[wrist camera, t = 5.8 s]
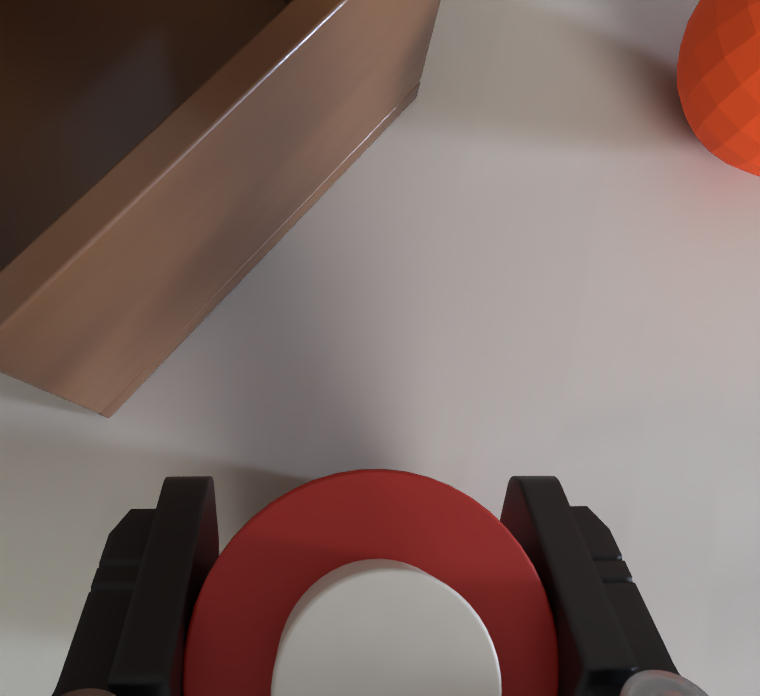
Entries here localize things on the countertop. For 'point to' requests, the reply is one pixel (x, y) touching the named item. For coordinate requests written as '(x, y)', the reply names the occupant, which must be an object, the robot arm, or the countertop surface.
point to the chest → (171, 162)
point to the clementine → (723, 79)
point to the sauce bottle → (372, 598)
